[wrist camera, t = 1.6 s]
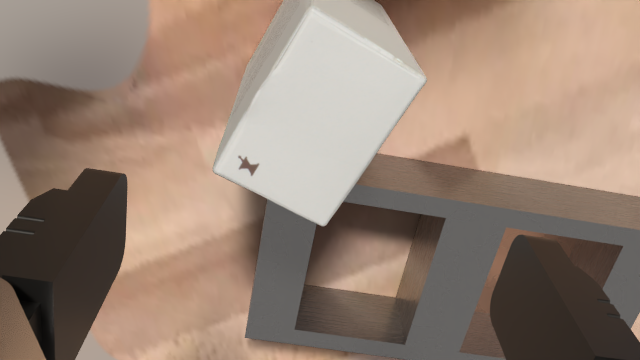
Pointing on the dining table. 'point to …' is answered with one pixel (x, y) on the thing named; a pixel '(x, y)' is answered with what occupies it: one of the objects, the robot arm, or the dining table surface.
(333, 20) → the skincare box
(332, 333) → the holder
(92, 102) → the dining table surface
